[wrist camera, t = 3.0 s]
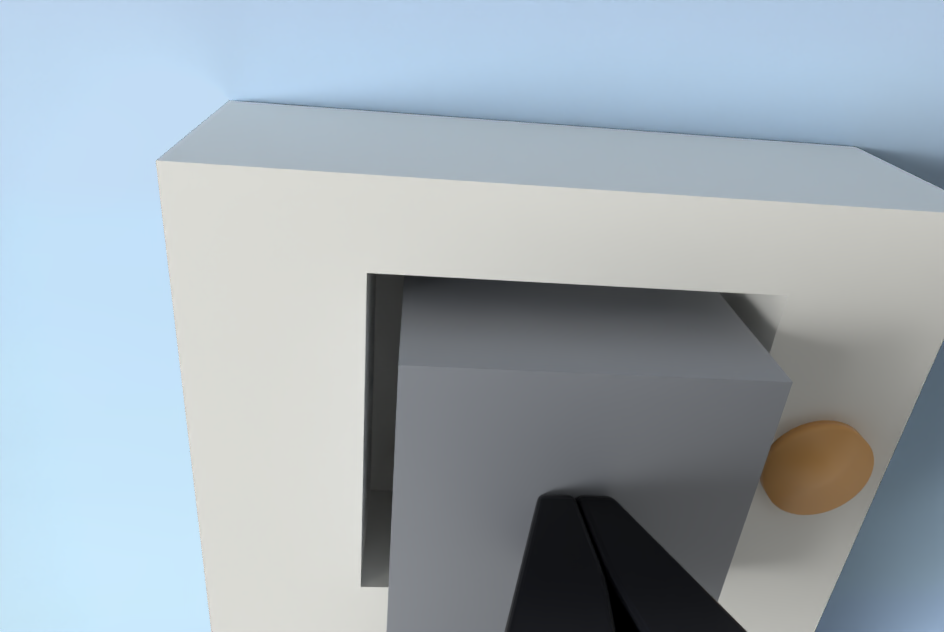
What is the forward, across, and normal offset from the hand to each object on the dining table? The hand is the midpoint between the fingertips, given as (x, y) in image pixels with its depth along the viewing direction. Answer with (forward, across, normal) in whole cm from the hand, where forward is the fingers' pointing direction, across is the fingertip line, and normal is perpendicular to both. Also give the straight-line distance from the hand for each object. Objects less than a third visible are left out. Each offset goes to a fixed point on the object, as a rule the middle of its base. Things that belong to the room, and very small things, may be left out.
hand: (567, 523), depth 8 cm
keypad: (+4, 0, +6) cm, 7 cm away
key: (+3, 0, 0) cm, 3 cm away
